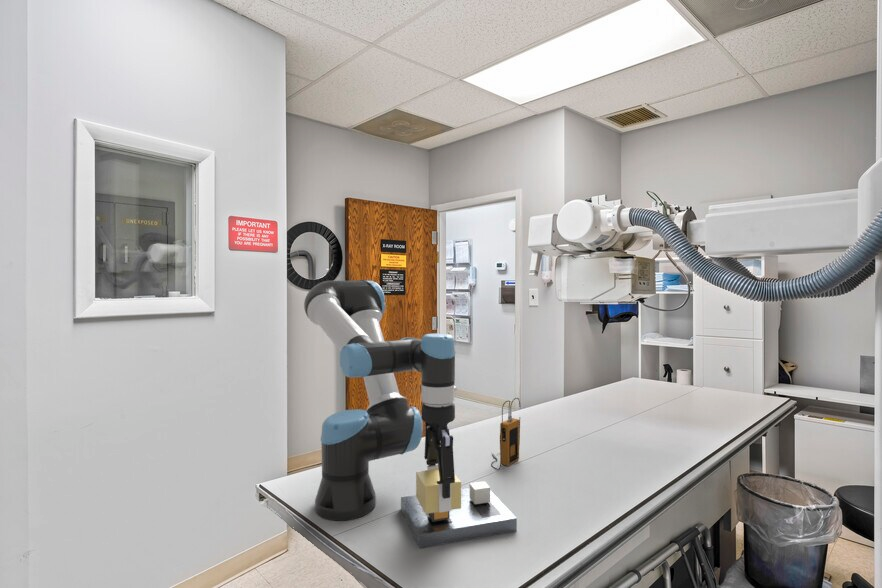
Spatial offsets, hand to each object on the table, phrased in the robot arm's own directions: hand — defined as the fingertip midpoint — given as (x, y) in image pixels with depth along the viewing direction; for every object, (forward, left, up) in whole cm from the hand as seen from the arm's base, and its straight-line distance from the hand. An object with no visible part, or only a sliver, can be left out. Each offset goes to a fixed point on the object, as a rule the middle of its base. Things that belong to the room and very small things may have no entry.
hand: (438, 501), depth 107 cm
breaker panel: (+5, +4, -7) cm, 10 cm away
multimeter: (+31, +35, -7) cm, 47 cm away
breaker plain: (+12, +5, -4) cm, 13 cm away
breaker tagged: (0, 0, -4) cm, 4 cm away
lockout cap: (0, 0, 0) cm, 0 cm away
